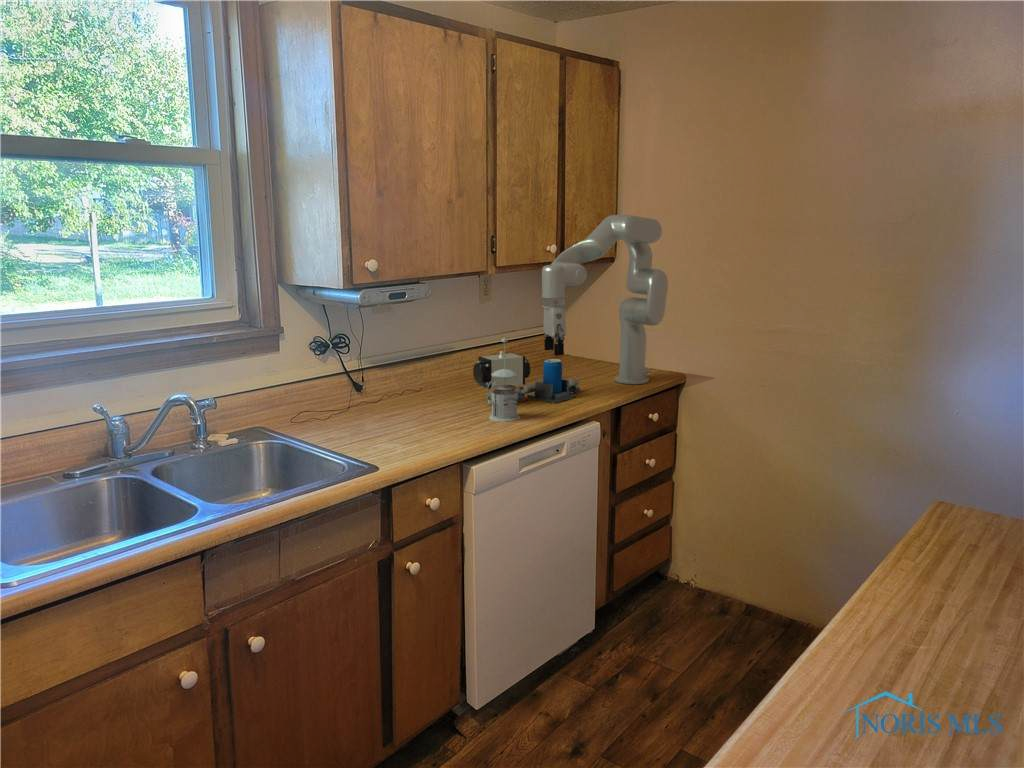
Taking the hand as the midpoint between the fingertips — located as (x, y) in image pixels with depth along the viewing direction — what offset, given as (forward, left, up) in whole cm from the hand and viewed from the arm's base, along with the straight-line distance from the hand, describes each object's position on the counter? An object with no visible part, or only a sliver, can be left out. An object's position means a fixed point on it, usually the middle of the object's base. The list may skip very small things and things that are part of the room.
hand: (554, 352), depth 258 cm
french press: (+32, +6, -16) cm, 36 cm away
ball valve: (+19, -7, -16) cm, 26 cm away
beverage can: (+1, 0, -15) cm, 15 cm away
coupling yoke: (0, -2, -16) cm, 16 cm away
